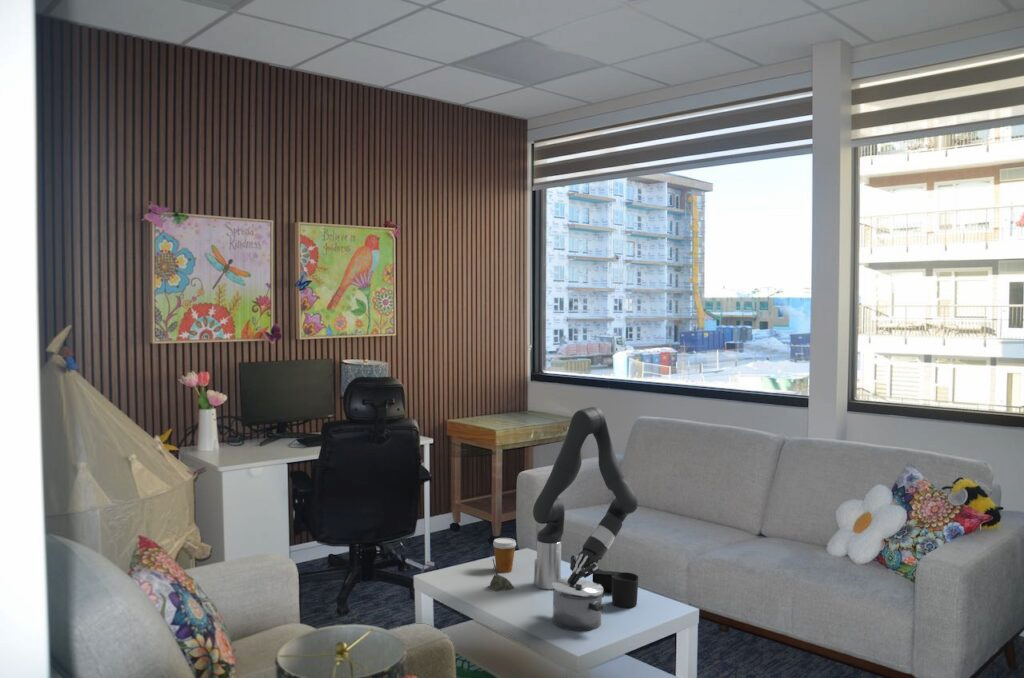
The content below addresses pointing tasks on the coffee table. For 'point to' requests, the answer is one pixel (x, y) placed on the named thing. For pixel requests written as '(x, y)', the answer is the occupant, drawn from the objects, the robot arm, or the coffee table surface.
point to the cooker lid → (578, 587)
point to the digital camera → (604, 579)
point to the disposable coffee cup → (504, 554)
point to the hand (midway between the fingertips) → (570, 584)
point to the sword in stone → (499, 582)
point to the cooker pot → (577, 611)
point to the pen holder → (624, 590)
